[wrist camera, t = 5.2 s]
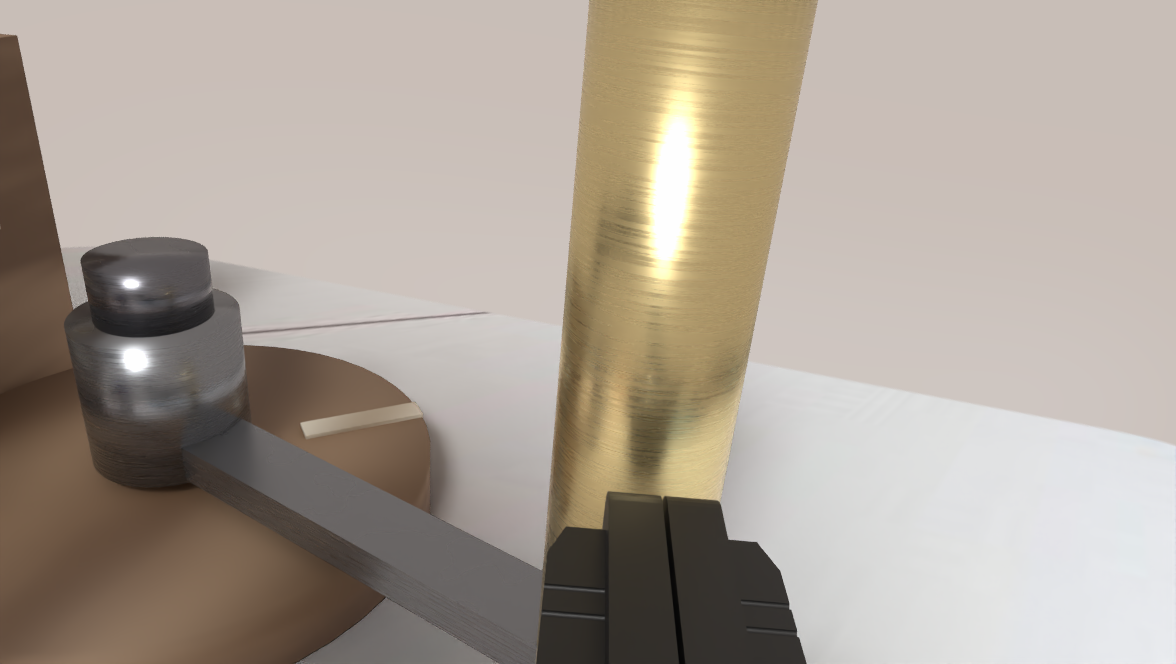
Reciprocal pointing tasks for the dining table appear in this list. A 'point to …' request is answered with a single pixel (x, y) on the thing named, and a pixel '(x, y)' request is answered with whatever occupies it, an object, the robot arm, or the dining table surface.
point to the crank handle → (589, 336)
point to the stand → (160, 514)
